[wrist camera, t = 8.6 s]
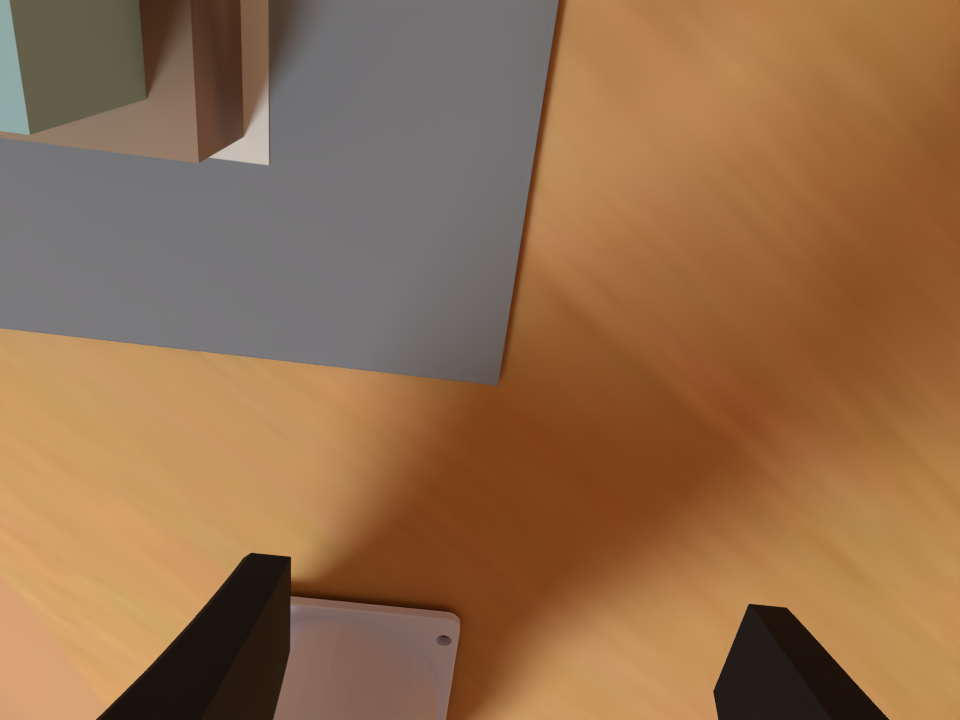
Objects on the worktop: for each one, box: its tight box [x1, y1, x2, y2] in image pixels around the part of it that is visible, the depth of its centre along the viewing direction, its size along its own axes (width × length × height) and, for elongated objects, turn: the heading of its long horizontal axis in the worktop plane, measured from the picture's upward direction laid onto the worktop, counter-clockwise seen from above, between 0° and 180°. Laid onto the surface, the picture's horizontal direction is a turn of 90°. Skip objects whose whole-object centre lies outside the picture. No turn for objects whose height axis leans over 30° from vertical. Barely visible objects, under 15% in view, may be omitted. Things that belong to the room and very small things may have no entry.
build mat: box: [0, 0, 559, 386], centre depth 17 cm, size 14×16×1 cm
